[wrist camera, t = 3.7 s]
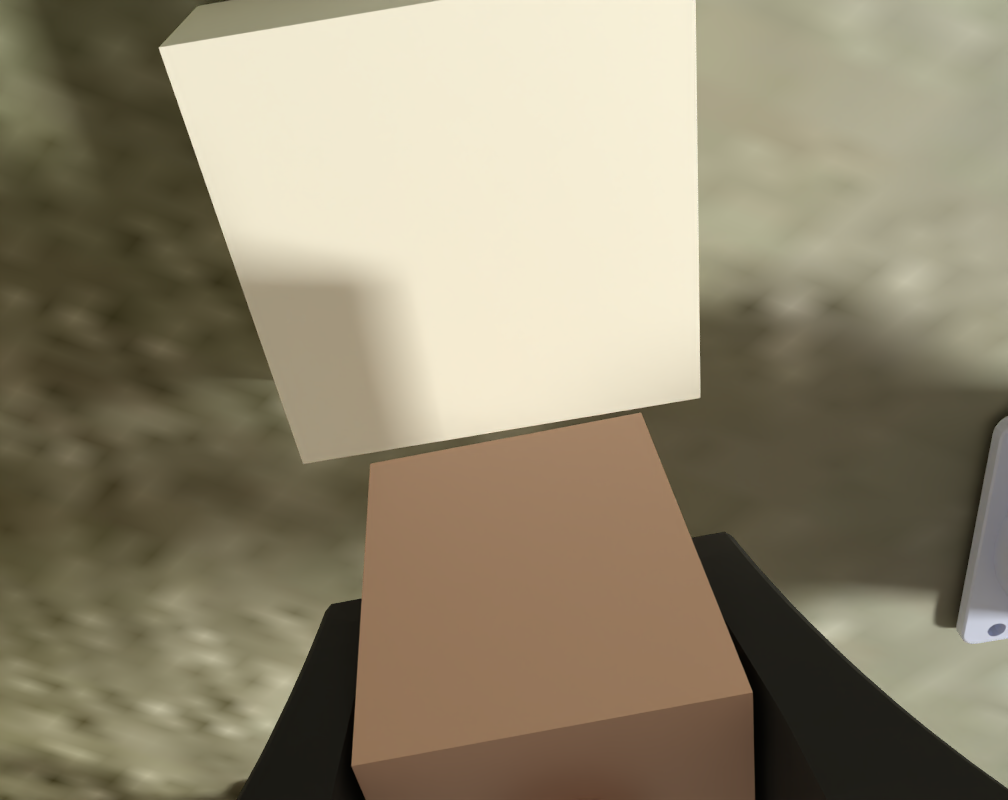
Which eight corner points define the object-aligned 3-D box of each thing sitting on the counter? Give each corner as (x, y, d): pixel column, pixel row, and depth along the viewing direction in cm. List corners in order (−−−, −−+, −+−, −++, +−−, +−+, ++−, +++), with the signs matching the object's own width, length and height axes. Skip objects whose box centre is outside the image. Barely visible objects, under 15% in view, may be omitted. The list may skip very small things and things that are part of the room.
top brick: (641, 412, 13) (774, 745, 8) (660, 605, 15) (774, 957, 10) (369, 463, 13) (347, 823, 8) (428, 648, 15) (436, 1017, 10)
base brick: (649, -71, 16) (695, -43, 13) (664, 322, 20) (700, 397, 18) (197, 5, 16) (158, 47, 13) (315, 380, 20) (303, 463, 18)
